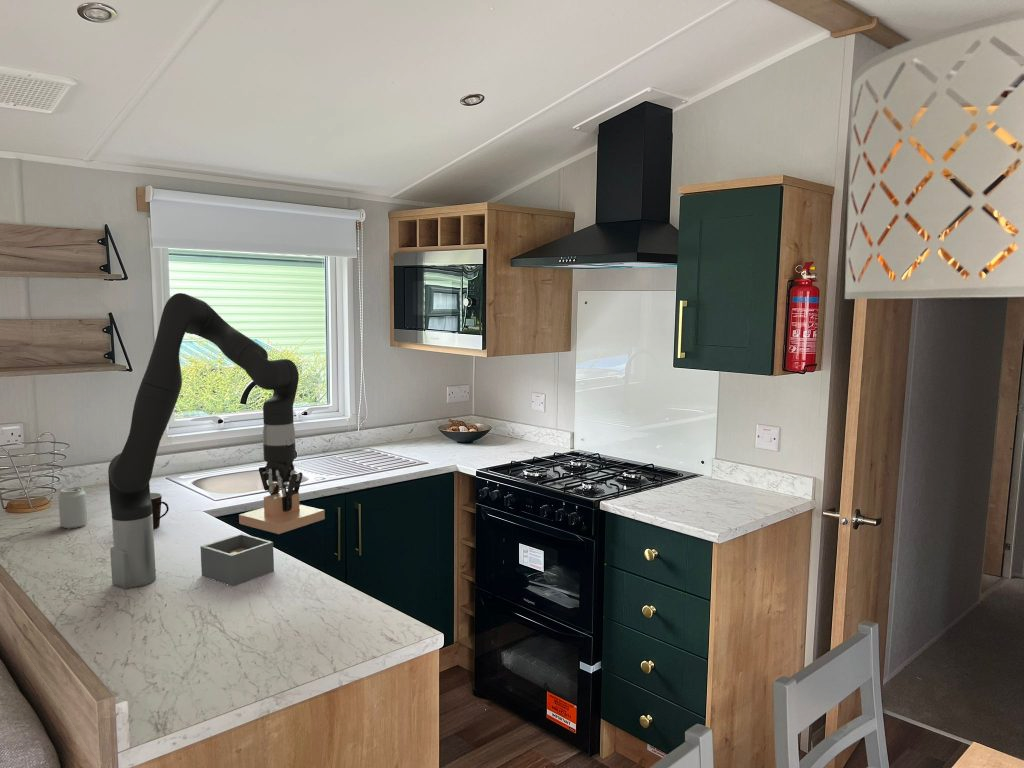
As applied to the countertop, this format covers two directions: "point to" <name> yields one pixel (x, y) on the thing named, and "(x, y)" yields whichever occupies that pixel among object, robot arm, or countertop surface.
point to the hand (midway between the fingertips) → (281, 509)
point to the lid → (281, 515)
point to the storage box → (237, 559)
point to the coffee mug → (157, 508)
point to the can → (72, 507)
